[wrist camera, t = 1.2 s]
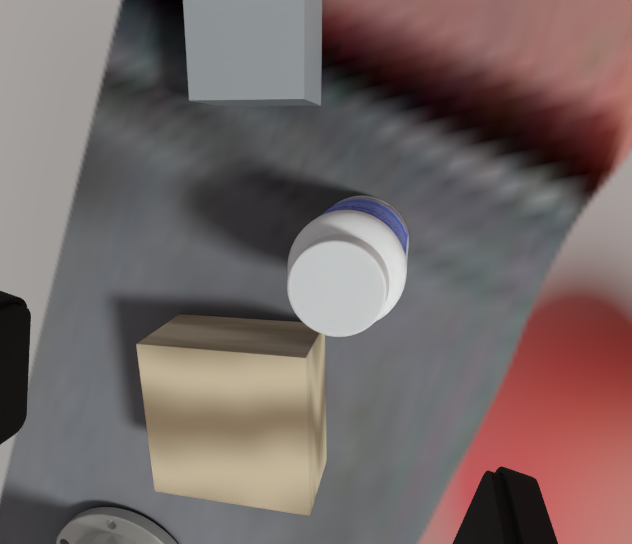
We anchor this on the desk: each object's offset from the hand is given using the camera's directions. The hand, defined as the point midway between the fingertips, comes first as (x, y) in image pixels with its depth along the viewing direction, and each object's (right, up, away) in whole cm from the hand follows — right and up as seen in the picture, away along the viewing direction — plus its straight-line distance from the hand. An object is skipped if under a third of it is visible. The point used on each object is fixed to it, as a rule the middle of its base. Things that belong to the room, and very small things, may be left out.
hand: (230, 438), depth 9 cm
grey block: (-1, +16, +17) cm, 23 cm away
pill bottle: (+5, +5, +18) cm, 20 cm away
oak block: (-3, -5, +22) cm, 23 cm away
